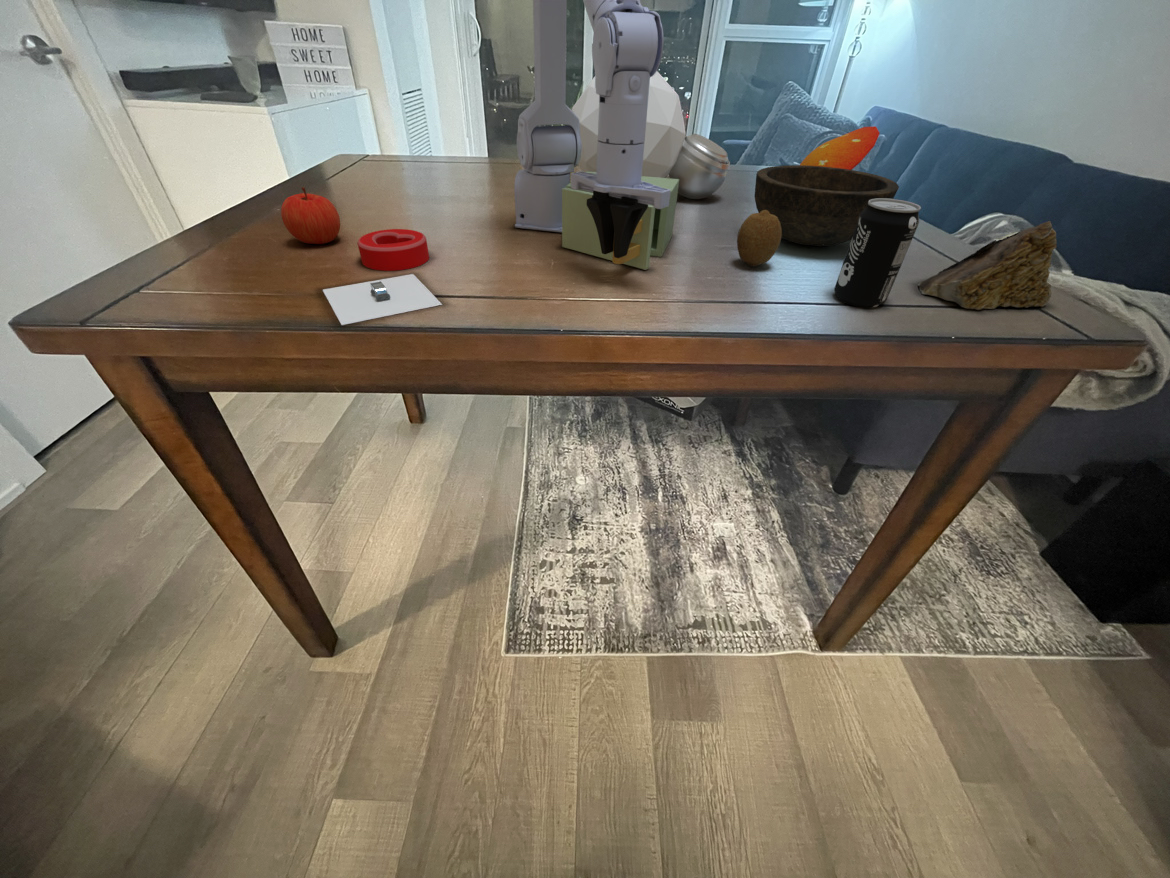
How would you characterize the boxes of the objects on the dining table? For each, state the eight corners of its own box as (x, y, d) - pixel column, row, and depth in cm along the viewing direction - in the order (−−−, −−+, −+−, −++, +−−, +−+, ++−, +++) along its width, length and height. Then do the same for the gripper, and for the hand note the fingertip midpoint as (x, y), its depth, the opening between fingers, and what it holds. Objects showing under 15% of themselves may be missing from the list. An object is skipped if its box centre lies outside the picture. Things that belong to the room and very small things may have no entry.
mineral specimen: (891, 260, 72) (995, 195, 69) (909, 331, 79) (1004, 274, 76) (953, 287, 62) (1078, 211, 59) (967, 364, 69) (1079, 301, 66)
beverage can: (823, 290, 70) (854, 197, 62) (868, 289, 70) (904, 197, 63) (846, 309, 65) (883, 211, 57) (894, 309, 65) (937, 211, 58)
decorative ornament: (354, 270, 71) (348, 248, 69) (372, 248, 79) (367, 227, 77) (422, 271, 72) (418, 248, 70) (434, 249, 79) (430, 228, 77)
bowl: (874, 234, 92) (897, 173, 85) (874, 271, 76) (901, 201, 70) (754, 217, 99) (767, 160, 92) (731, 249, 83) (745, 182, 77)
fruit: (723, 261, 78) (734, 206, 73) (756, 256, 80) (768, 203, 75) (748, 274, 74) (762, 217, 69) (782, 269, 76) (797, 213, 71)
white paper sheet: (341, 325, 58) (337, 312, 57) (322, 289, 65) (318, 278, 65) (442, 304, 63) (440, 293, 62) (413, 274, 71) (411, 263, 70)
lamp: (557, 153, 117) (598, 28, 100) (689, 214, 124) (746, 107, 108) (545, 187, 100) (591, 46, 84) (697, 255, 108) (767, 137, 92)
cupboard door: (625, 280, 70) (630, 214, 65) (540, 255, 78) (538, 194, 72) (649, 268, 74) (655, 205, 69) (565, 245, 82) (566, 187, 76)
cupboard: (661, 257, 79) (669, 195, 73) (565, 245, 82) (565, 185, 77) (672, 235, 88) (679, 179, 83) (585, 226, 91) (586, 171, 86)
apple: (282, 241, 80) (264, 186, 75) (331, 231, 85) (317, 179, 80) (304, 253, 76) (286, 196, 71) (354, 242, 81) (340, 188, 76)
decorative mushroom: (834, 197, 114) (858, 120, 105) (866, 222, 98) (897, 134, 89) (768, 194, 115) (786, 117, 106) (789, 218, 99) (812, 130, 89)
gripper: (555, 137, 62) (556, 248, 70) (651, 153, 55) (640, 275, 63) (591, 132, 66) (588, 237, 75) (685, 146, 59) (670, 261, 67)
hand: (614, 254), depth 69 cm, fingers closed on cupboard door, 2 cm apart
